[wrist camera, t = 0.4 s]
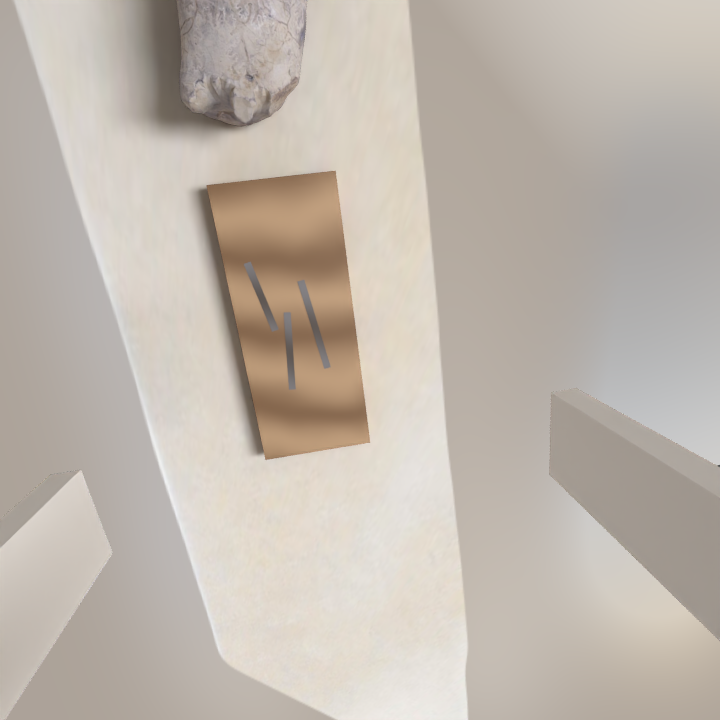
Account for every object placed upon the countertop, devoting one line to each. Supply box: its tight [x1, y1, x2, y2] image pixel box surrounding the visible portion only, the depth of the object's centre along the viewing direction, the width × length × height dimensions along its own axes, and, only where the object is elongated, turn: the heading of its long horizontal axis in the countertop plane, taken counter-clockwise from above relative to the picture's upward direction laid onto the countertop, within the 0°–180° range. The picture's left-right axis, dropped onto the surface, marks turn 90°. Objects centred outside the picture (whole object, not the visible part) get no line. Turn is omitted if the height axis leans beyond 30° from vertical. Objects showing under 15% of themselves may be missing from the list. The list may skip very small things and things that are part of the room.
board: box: [207, 171, 370, 460], centre depth 35 cm, size 24×10×2 cm, turn 7°
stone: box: [177, 0, 307, 126], centre depth 26 cm, size 8×12×7 cm, turn 174°
